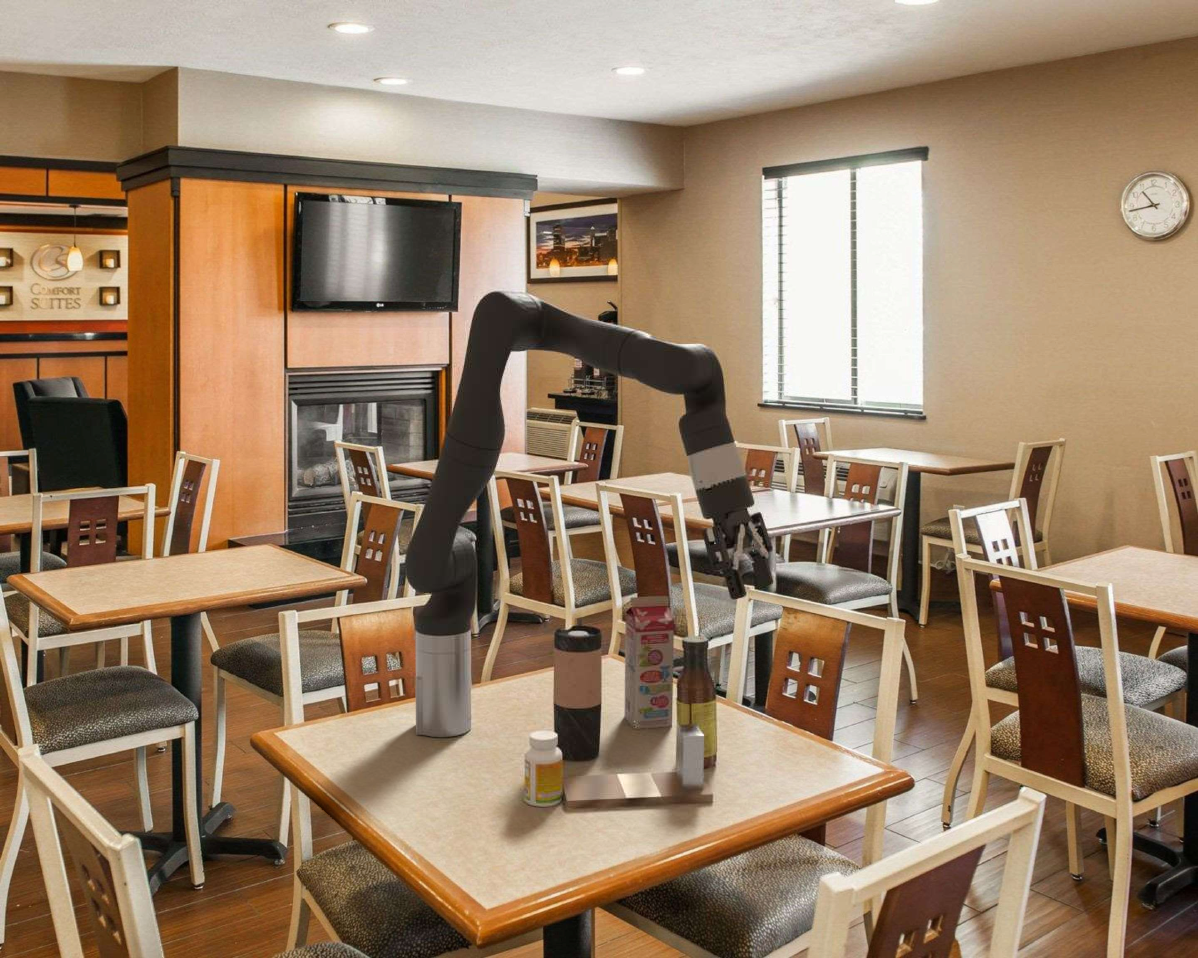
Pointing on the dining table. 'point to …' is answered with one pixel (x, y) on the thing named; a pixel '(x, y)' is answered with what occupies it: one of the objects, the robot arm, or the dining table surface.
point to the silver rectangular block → (689, 756)
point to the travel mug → (578, 691)
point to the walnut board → (629, 790)
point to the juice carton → (649, 663)
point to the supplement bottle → (543, 770)
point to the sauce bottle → (698, 695)
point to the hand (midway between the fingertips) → (753, 591)
